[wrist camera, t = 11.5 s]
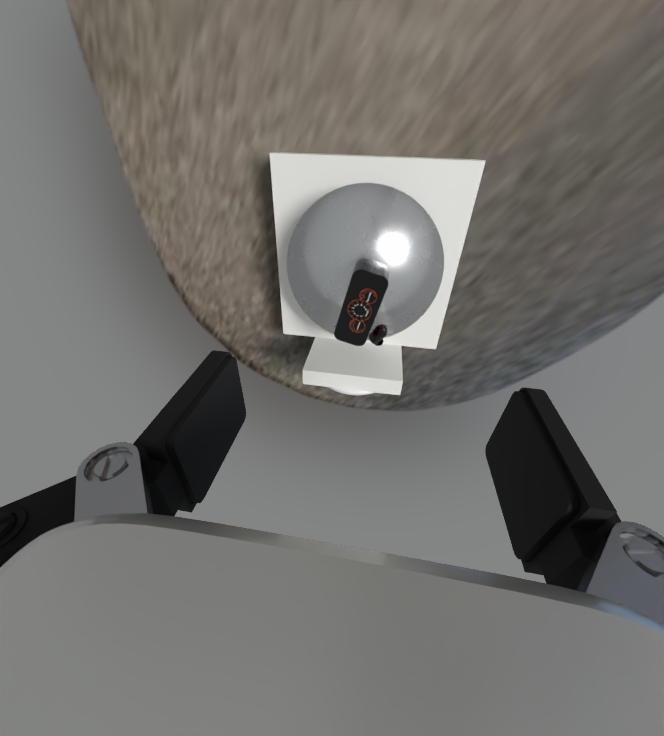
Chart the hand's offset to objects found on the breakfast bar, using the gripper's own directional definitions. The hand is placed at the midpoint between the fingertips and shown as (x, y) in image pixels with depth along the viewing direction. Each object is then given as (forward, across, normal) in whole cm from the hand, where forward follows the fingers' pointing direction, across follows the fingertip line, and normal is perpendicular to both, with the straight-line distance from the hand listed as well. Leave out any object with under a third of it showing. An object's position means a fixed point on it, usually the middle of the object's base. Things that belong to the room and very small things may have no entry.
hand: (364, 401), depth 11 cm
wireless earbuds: (+18, +1, +5) cm, 18 cm away
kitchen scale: (+22, +1, +3) cm, 23 cm away
